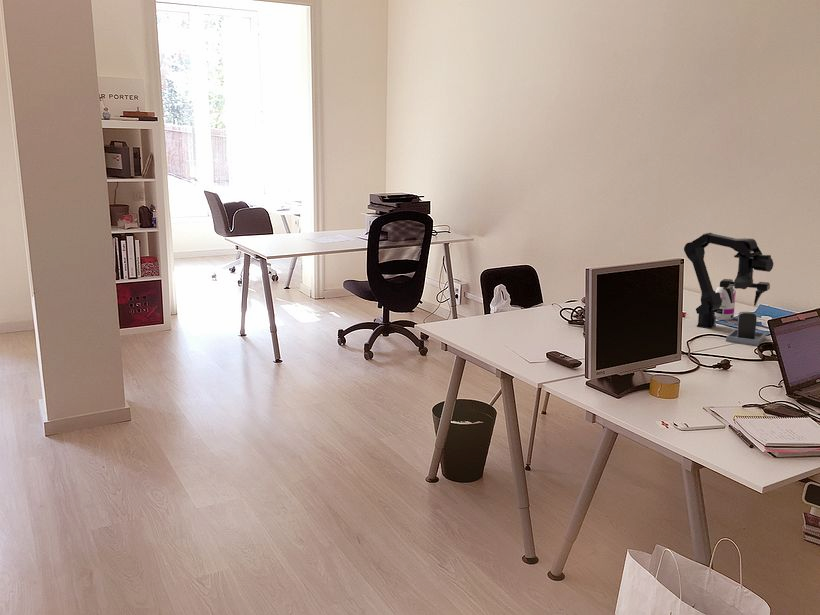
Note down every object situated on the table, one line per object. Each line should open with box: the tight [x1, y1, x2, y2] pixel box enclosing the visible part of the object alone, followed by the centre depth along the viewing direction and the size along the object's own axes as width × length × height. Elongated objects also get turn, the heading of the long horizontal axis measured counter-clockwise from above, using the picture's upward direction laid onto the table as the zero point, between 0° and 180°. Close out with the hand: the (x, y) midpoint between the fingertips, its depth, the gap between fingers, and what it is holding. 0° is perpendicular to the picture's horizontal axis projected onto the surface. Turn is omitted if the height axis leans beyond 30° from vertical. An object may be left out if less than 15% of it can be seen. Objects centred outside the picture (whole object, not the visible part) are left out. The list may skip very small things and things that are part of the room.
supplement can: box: [714, 285, 736, 321], centre depth 322 cm, size 8×8×15 cm
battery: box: [737, 311, 758, 339], centre depth 290 cm, size 7×4×11 cm, turn 72°
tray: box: [725, 328, 767, 347], centre depth 291 cm, size 12×12×2 cm
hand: (743, 304), depth 296 cm, fingers open, 9 cm apart
